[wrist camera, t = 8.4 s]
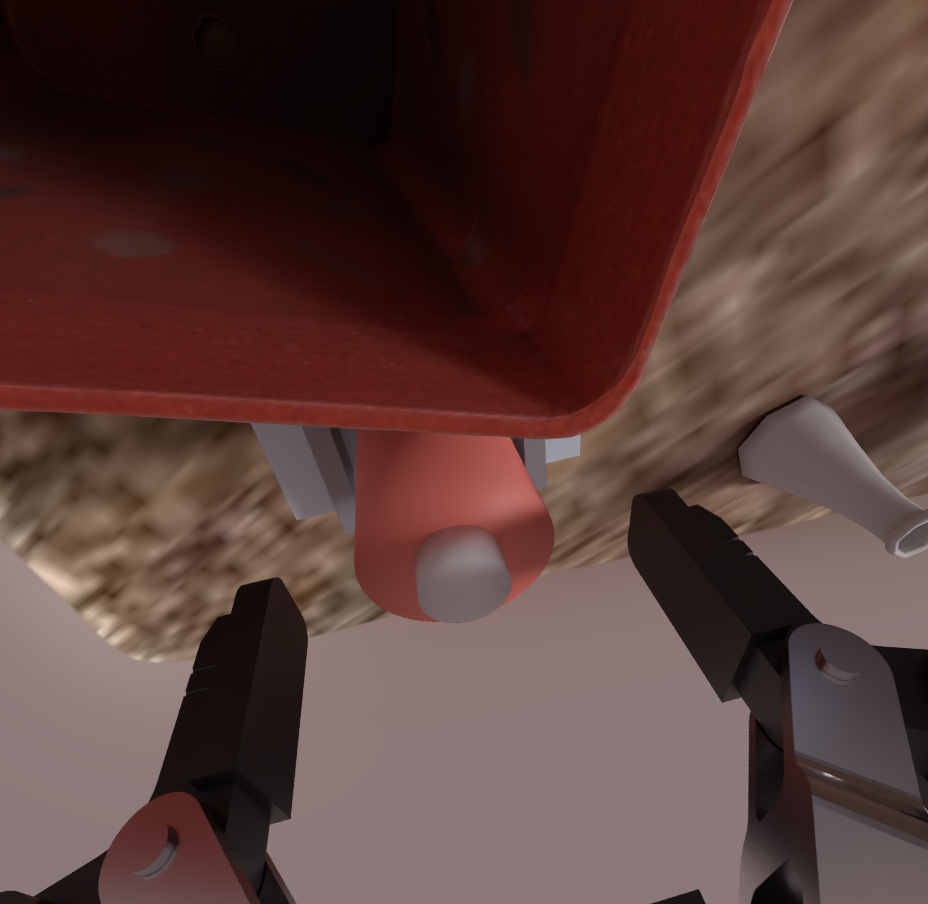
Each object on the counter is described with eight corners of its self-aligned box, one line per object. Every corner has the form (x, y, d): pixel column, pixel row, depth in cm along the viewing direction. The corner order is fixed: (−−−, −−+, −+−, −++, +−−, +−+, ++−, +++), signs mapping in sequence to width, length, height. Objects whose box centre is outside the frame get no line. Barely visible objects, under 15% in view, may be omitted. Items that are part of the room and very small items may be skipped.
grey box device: (245, 270, 20) (176, 351, 12) (514, 221, 21) (605, 268, 13) (304, 422, 25) (282, 549, 17) (523, 376, 26) (594, 476, 18)
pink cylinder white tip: (339, 358, 15) (322, 543, 8) (475, 330, 15) (568, 484, 8) (375, 467, 18) (385, 676, 11) (490, 441, 18) (570, 628, 11)
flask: (812, 375, 30) (980, 462, 22) (842, 432, 34) (996, 525, 26) (719, 448, 32) (841, 552, 24) (757, 494, 36) (874, 598, 28)
